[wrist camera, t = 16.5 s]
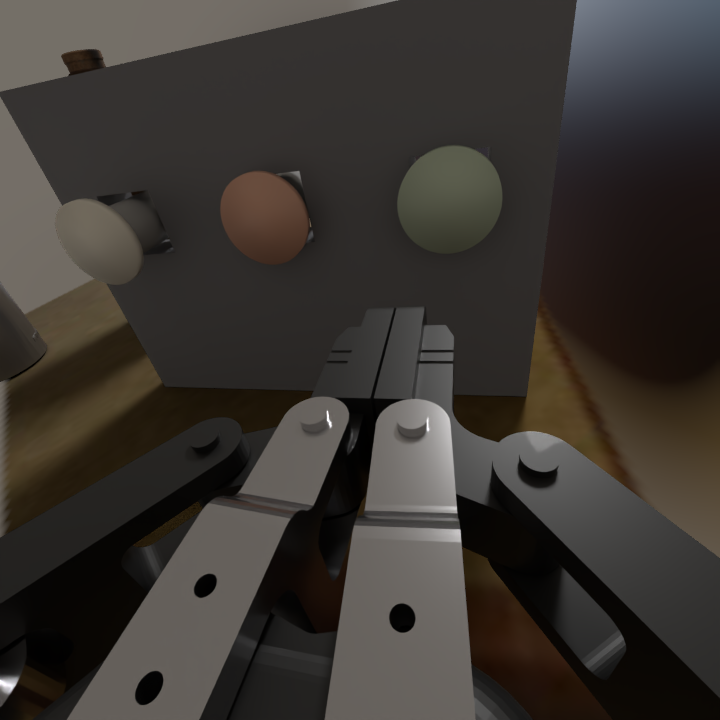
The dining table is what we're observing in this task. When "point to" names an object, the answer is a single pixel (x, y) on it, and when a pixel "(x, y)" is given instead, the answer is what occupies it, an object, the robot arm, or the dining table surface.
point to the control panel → (322, 182)
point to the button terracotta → (266, 215)
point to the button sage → (450, 199)
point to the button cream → (110, 235)
